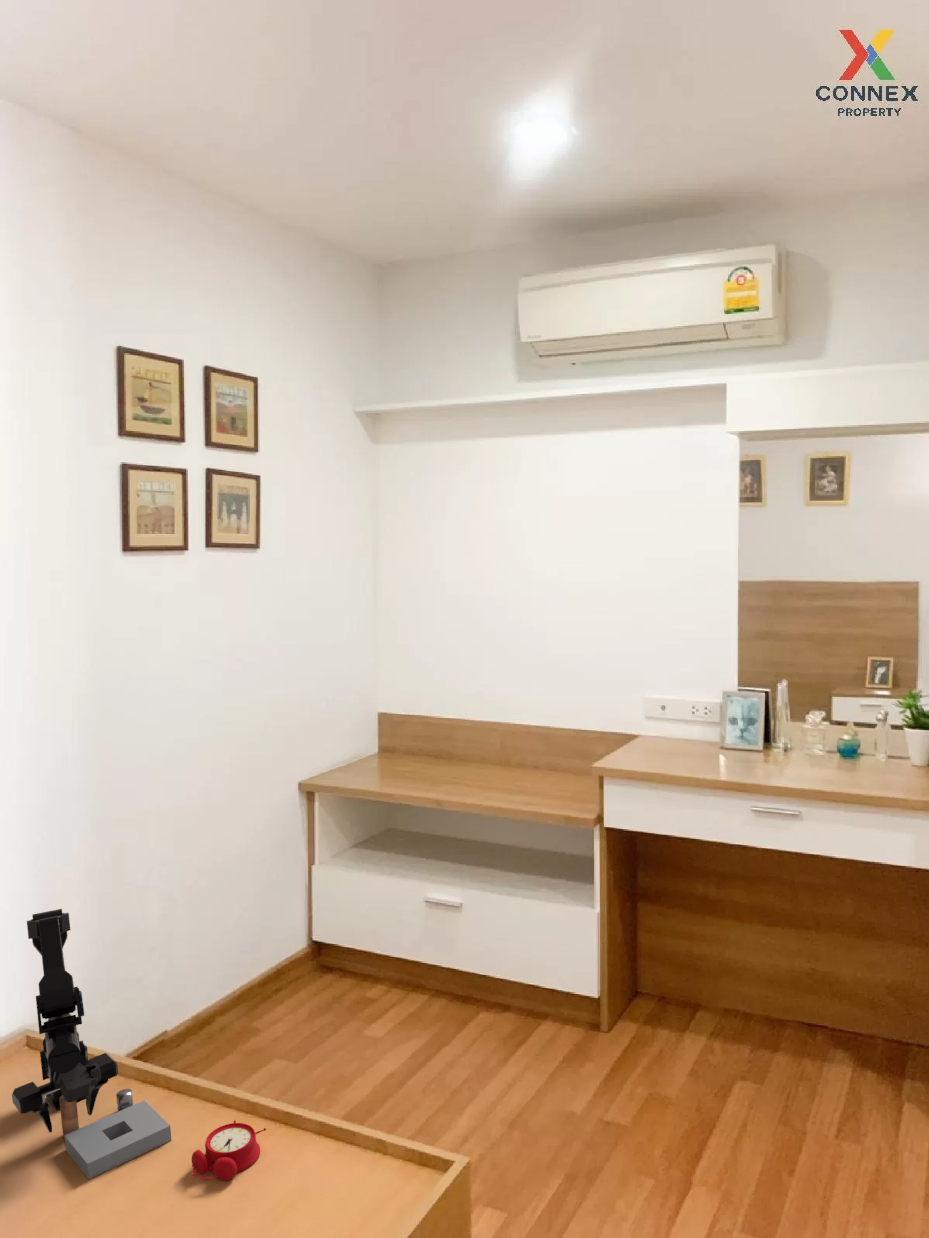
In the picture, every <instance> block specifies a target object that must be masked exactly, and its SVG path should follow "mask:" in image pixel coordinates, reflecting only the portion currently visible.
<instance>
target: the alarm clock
mask: <svg viewBox="0 0 929 1238" xmlns="http://www.w3.org/2000/svg"><path fill="white" fill-rule="evenodd" d="M266 1130H267V1129H266V1128H265V1127H264V1128H263V1129H261V1130H258V1131H255V1129H254V1128H253V1127H252V1126H251V1125H249V1124H248V1123H242V1122H237V1121H236V1120H234V1121H233V1123H227V1124H224V1125H222V1126H219V1127H217V1128H215V1129H213V1131H211V1132H210V1133H209V1134H208V1136H207V1137H206V1138H205V1139H206V1140H205V1144H204V1147H205V1153H203V1151H202V1150H201V1149H196V1150H194V1151H193V1153H192V1155H191V1167H192V1170H191V1176H192V1177H194V1178H195V1179H199V1180H203V1181H207V1180H208V1181H209V1180H212V1179H215V1178H217V1179H218V1180H220V1181H223V1182H226V1181H227V1182H228V1181H230V1180H233V1178H234V1177H235V1176H236V1174H237V1173H240V1172H243V1171H245V1170H246V1169H248V1168H250V1167H252V1165H254V1164H255V1163H256V1162H257V1161H258V1159H259V1157H260V1155H261V1146H260V1144H259V1142H258V1141H257V1134H259V1133H261V1132H264V1131H265V1132H266ZM194 1171H195V1172H196V1173H197V1174H199V1175H205V1174H207V1173H208V1172H209V1173H211V1174H213V1175H212V1176H211V1177H205V1178H204V1177H201V1176H197V1175H195V1174H194Z"/></svg>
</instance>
